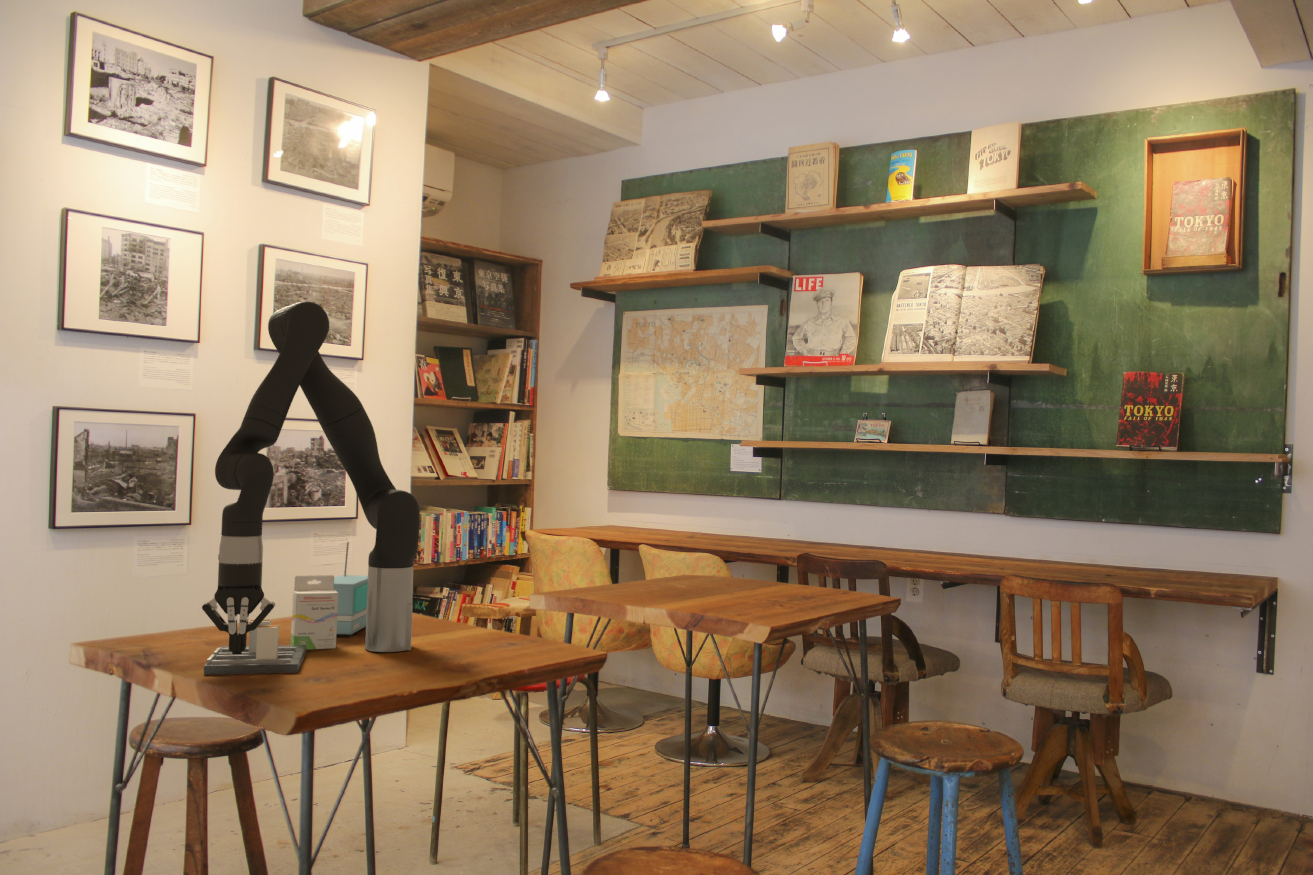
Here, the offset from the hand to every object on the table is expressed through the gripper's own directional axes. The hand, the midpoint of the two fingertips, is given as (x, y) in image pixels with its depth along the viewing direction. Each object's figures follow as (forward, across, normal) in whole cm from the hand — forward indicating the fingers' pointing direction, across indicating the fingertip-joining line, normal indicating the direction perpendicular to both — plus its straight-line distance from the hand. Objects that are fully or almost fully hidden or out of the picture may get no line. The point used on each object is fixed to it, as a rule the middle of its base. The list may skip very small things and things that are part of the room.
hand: (237, 653), depth 186 cm
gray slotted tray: (+3, -3, -5) cm, 7 cm away
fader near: (+1, -5, 0) cm, 5 cm away
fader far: (+1, -3, -7) cm, 8 cm away
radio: (+3, -18, -40) cm, 44 cm away
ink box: (+3, -12, -21) cm, 24 cm away
